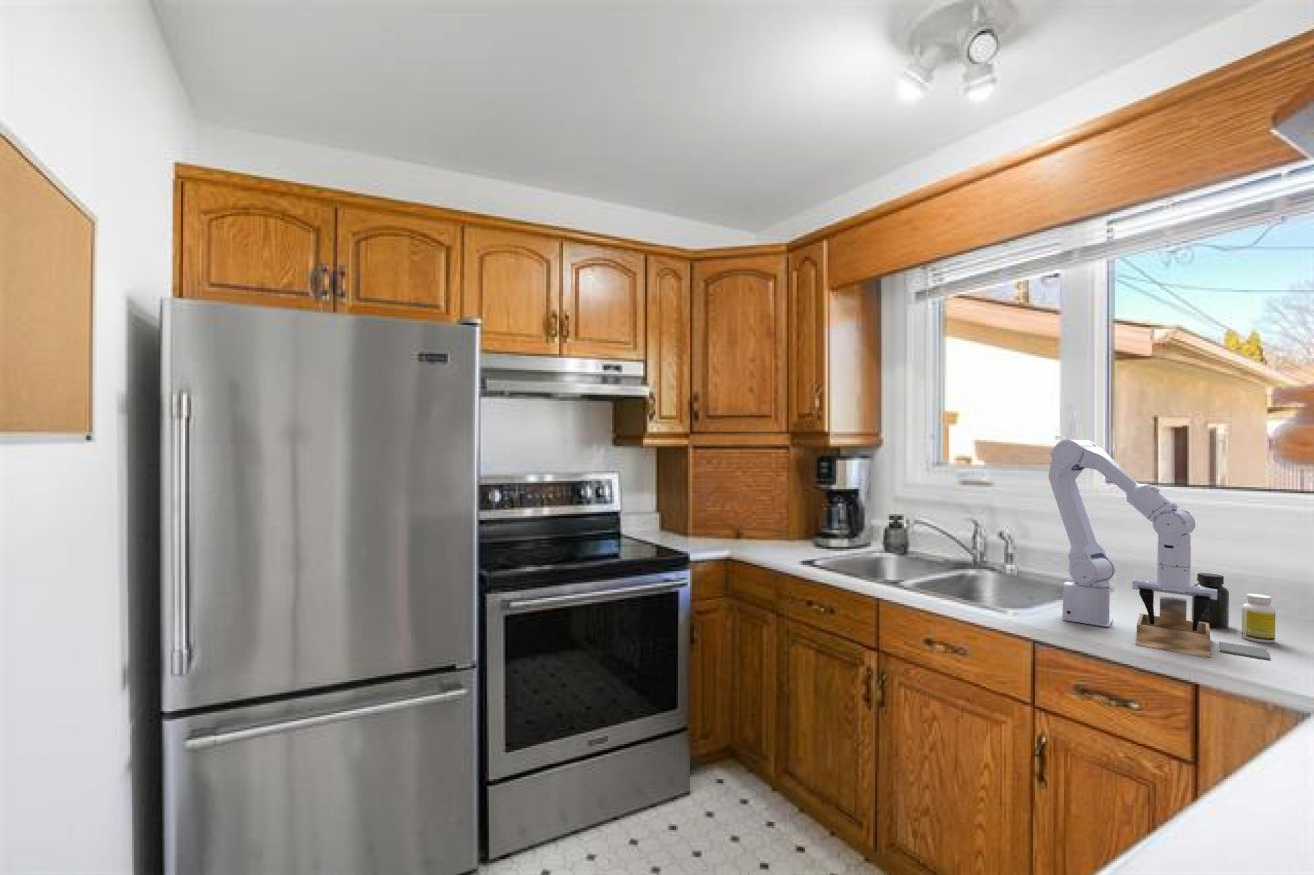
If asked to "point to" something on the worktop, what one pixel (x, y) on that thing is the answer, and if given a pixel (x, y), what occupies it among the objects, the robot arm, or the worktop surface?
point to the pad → (1244, 650)
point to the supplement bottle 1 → (1214, 601)
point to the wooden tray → (1174, 637)
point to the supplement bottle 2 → (1258, 619)
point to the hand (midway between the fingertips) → (1173, 626)
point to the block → (1173, 613)
